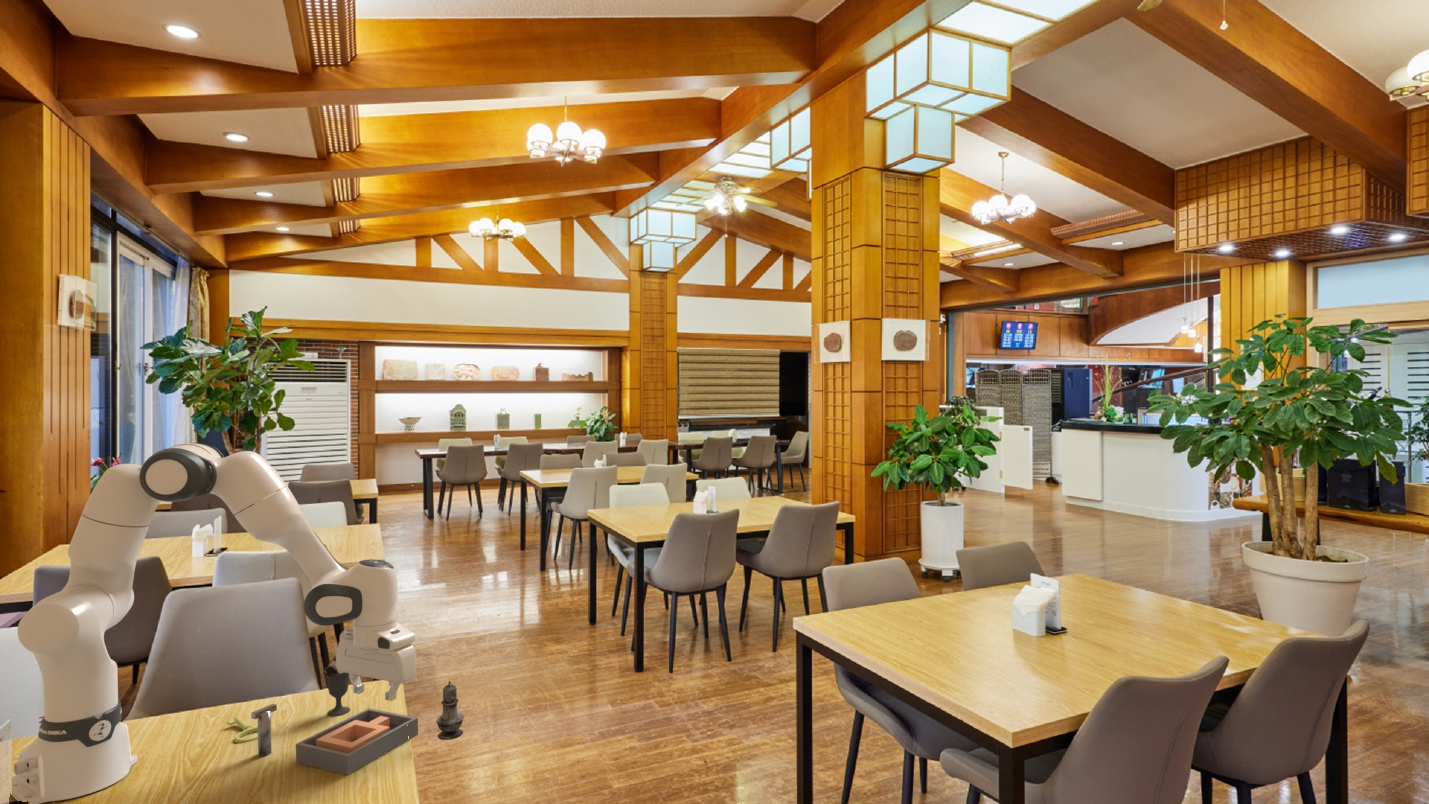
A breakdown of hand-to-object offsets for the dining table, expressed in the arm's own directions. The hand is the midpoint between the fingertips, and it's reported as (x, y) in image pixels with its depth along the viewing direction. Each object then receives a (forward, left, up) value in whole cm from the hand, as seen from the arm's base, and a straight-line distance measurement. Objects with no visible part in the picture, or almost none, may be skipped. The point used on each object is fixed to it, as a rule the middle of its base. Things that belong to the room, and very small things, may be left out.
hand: (374, 696), depth 162 cm
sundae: (-20, +7, -10) cm, 23 cm away
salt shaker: (+14, +7, -10) cm, 19 cm away
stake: (-17, -14, -9) cm, 23 cm away
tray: (0, -5, -9) cm, 10 cm away
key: (-30, -8, -10) cm, 33 cm away
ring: (0, -4, -9) cm, 10 cm away
